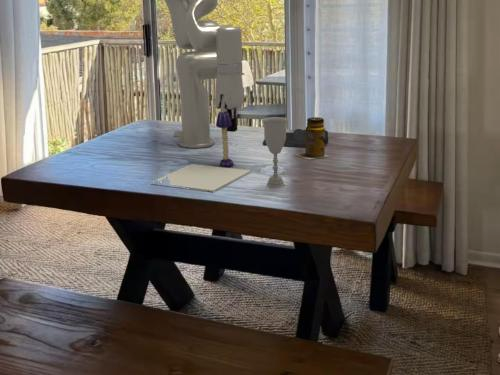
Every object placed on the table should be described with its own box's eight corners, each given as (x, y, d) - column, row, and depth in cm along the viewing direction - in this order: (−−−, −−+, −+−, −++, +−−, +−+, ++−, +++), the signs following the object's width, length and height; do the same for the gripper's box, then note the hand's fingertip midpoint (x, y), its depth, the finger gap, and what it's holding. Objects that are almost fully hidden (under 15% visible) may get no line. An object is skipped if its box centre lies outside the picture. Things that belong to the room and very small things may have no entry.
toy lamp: (237, 162, 205) (233, 110, 198) (231, 168, 201) (227, 115, 194) (222, 161, 206) (217, 109, 199) (217, 167, 202) (212, 114, 195)
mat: (150, 184, 185) (150, 182, 185) (192, 165, 204) (191, 163, 204) (213, 192, 177) (213, 190, 177) (250, 172, 196) (250, 170, 195)
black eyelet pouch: (271, 137, 243) (271, 124, 242) (331, 140, 237) (331, 127, 236) (259, 146, 229) (259, 133, 228) (322, 150, 223) (322, 136, 222)
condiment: (330, 156, 213) (330, 118, 210) (309, 160, 209) (309, 122, 205) (315, 152, 219) (316, 115, 216) (295, 155, 215) (295, 118, 211)
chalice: (261, 181, 186) (260, 117, 181) (286, 180, 186) (286, 116, 181) (264, 189, 179) (263, 122, 174) (289, 188, 180) (289, 121, 174)
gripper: (230, 66, 206) (231, 125, 211) (206, 72, 193) (208, 134, 198) (252, 67, 203) (253, 127, 208) (229, 72, 190) (230, 136, 195)
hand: (231, 130), depth 203 cm, fingers closed
